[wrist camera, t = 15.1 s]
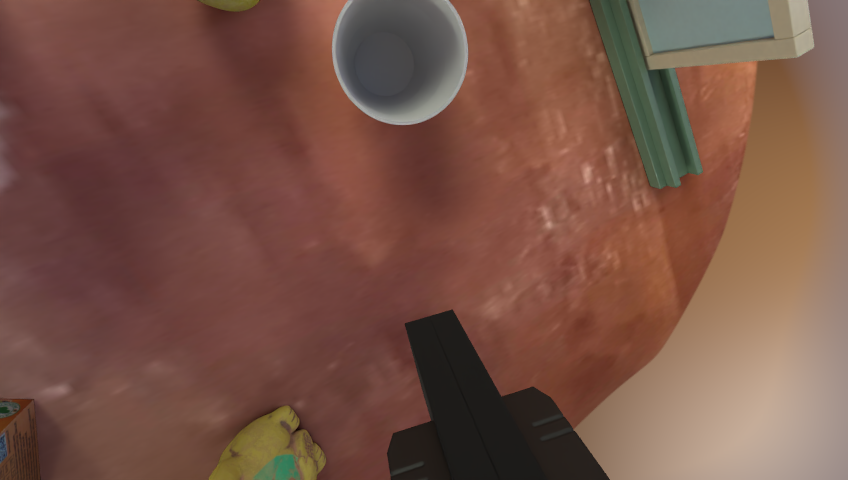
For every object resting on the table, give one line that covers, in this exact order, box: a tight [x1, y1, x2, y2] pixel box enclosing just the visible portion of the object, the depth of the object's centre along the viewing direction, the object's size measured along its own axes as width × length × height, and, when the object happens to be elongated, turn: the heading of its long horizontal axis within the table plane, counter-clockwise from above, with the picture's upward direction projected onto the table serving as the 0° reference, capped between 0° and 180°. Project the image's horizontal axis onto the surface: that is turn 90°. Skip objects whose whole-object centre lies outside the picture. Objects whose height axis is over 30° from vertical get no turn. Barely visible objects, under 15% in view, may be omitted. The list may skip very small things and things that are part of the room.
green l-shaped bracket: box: [589, 0, 703, 189], centre depth 31 cm, size 27×4×17 cm, turn 28°
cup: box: [332, 0, 468, 125], centre depth 31 cm, size 8×8×10 cm
